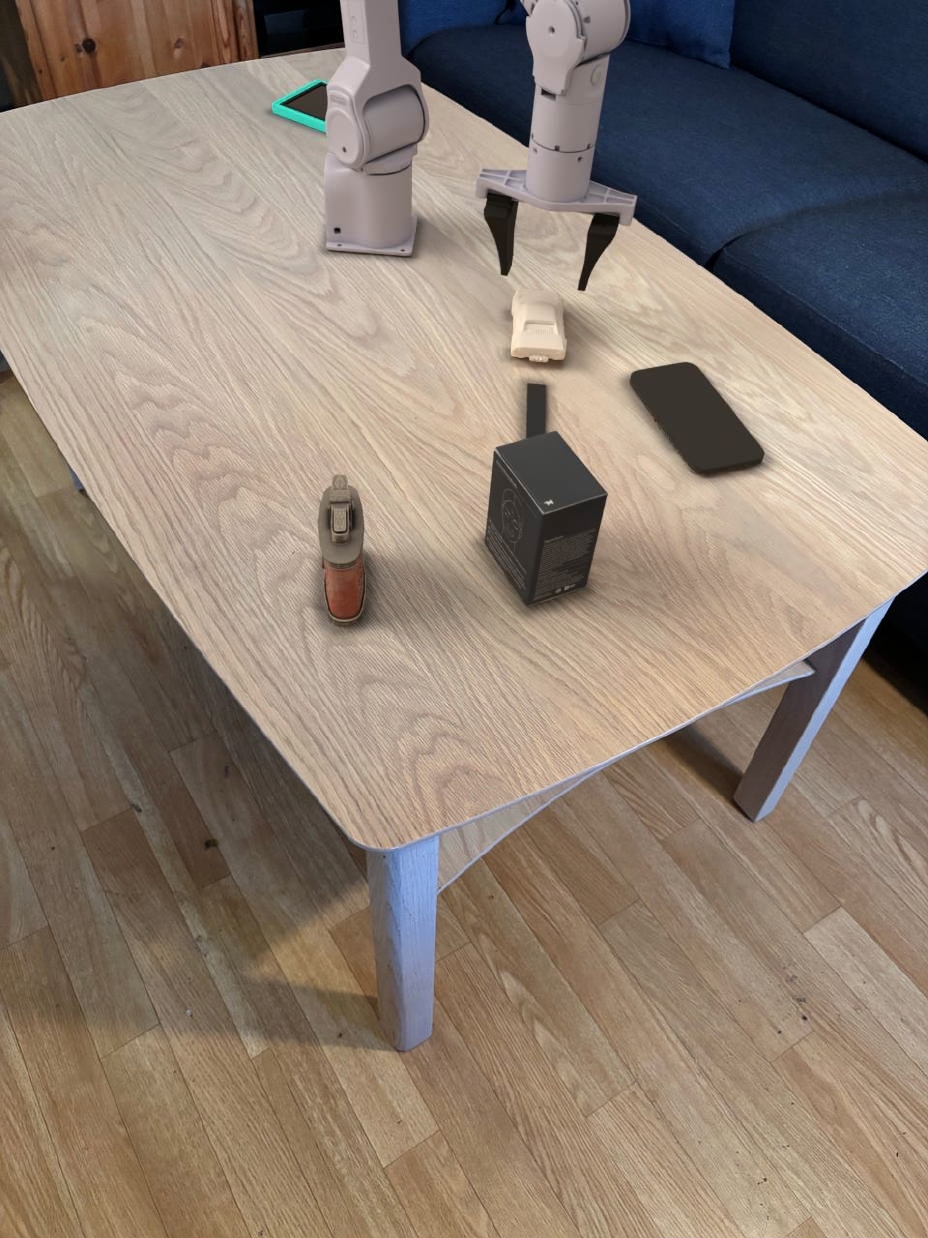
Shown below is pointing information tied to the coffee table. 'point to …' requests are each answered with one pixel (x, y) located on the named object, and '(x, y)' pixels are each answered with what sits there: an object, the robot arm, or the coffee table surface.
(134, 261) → the coffee table surface
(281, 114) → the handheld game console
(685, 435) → the phone
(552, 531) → the box
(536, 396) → the tape line
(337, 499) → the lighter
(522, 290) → the toy car
